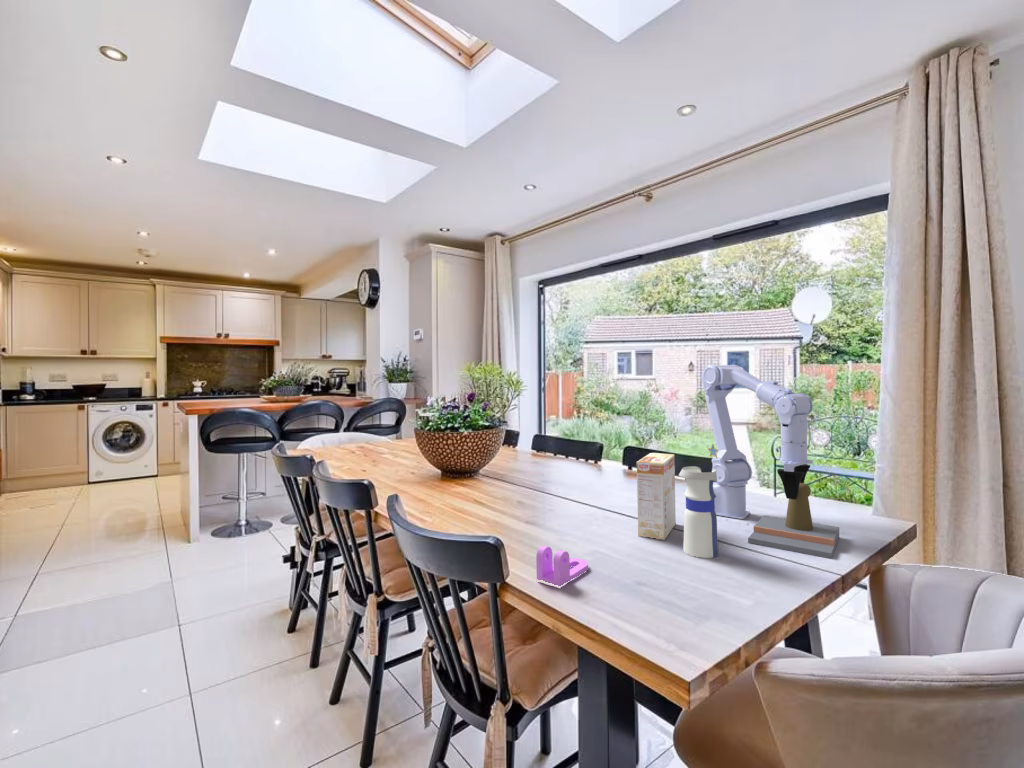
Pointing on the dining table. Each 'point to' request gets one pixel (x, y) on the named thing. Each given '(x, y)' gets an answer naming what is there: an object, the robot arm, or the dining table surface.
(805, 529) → the cork
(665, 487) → the coffeecake box
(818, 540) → the stepped stand
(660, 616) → the dining table surface
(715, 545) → the white spray bottle
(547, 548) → the bracket
